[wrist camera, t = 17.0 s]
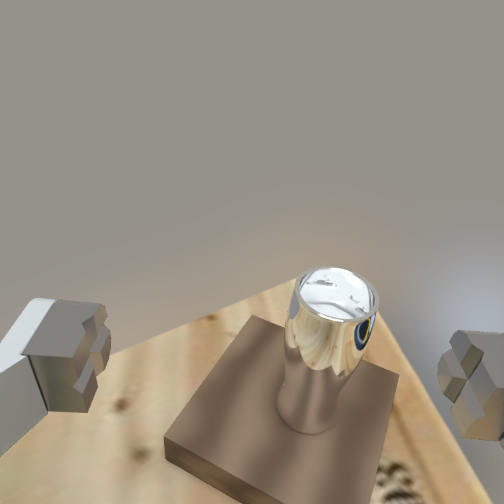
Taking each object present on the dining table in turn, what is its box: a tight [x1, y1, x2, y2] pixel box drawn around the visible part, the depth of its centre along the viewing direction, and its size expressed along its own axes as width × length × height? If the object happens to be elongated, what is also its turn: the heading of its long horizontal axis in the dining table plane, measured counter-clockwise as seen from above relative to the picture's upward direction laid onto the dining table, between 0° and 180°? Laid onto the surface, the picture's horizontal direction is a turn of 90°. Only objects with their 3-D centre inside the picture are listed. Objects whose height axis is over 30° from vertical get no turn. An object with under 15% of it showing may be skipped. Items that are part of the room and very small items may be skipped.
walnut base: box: [164, 315, 399, 504], centre depth 41 cm, size 18×18×4 cm
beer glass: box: [276, 266, 379, 434], centre depth 36 cm, size 7×7×15 cm
